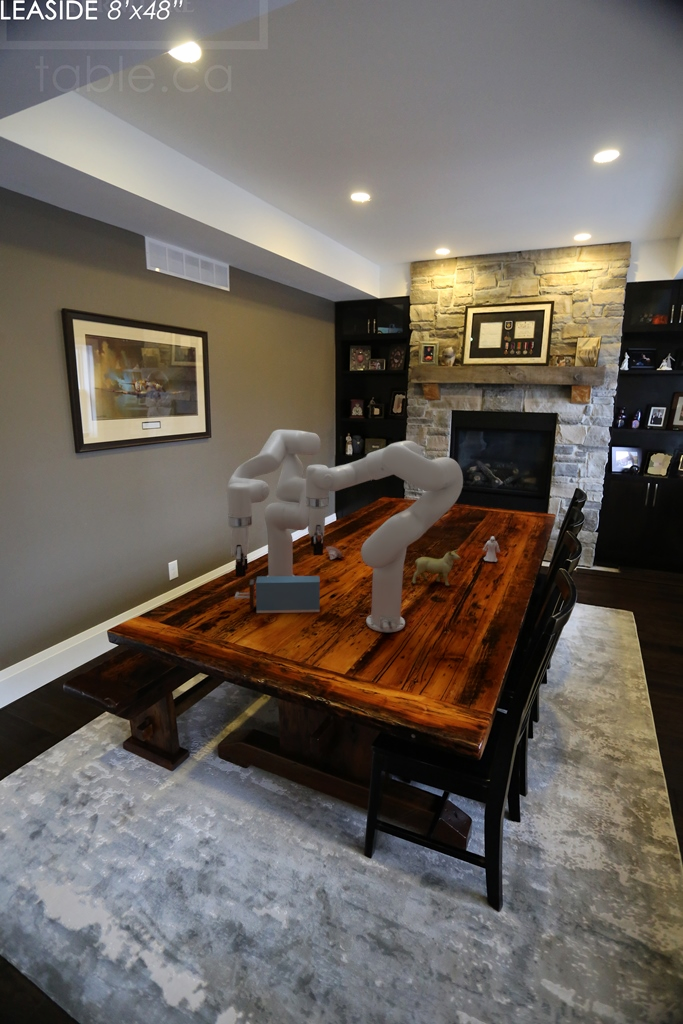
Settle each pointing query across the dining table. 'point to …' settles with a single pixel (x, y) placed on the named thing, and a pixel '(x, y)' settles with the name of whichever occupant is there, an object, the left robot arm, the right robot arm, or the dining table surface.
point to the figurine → (491, 550)
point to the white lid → (333, 552)
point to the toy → (435, 566)
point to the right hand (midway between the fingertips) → (316, 550)
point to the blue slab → (287, 594)
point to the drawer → (252, 594)
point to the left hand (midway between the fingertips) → (241, 572)
